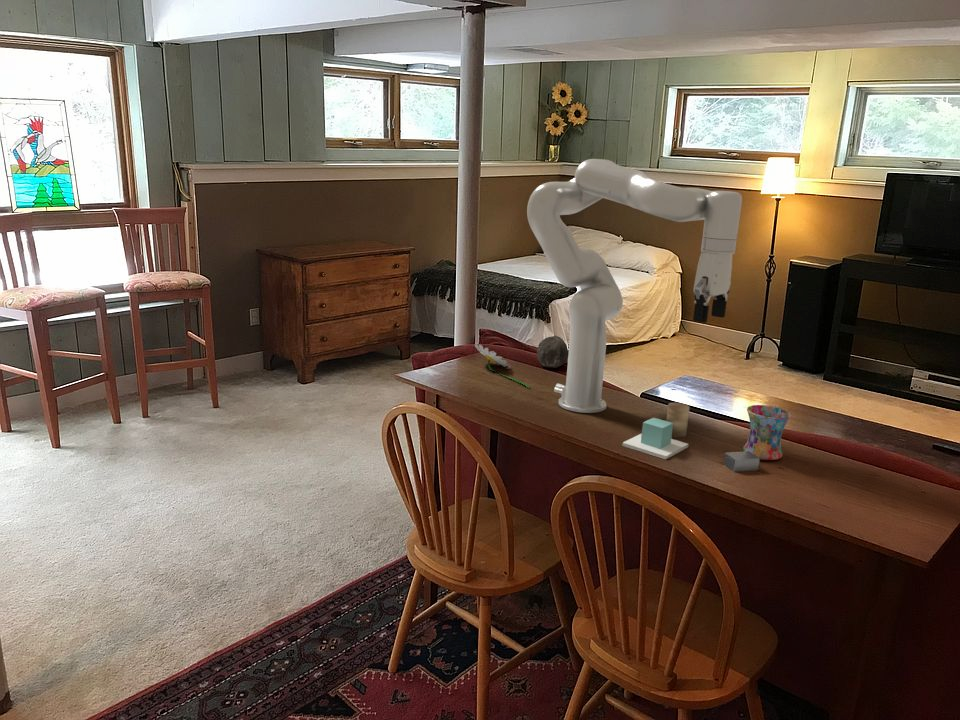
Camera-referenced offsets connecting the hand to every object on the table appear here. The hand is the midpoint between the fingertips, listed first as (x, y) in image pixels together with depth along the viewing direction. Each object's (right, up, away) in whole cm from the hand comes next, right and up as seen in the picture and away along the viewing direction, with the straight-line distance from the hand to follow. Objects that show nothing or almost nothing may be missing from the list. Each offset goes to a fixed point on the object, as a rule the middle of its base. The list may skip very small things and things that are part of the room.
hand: (709, 319), depth 178 cm
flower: (-47, -14, +48) cm, 69 cm away
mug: (+12, -31, -5) cm, 34 cm away
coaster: (-13, -30, -3) cm, 33 cm away
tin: (+3, -33, -13) cm, 36 cm away
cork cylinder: (-6, -27, +6) cm, 29 cm away
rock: (-31, -12, +61) cm, 70 cm away
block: (-13, -29, -3) cm, 32 cm away
